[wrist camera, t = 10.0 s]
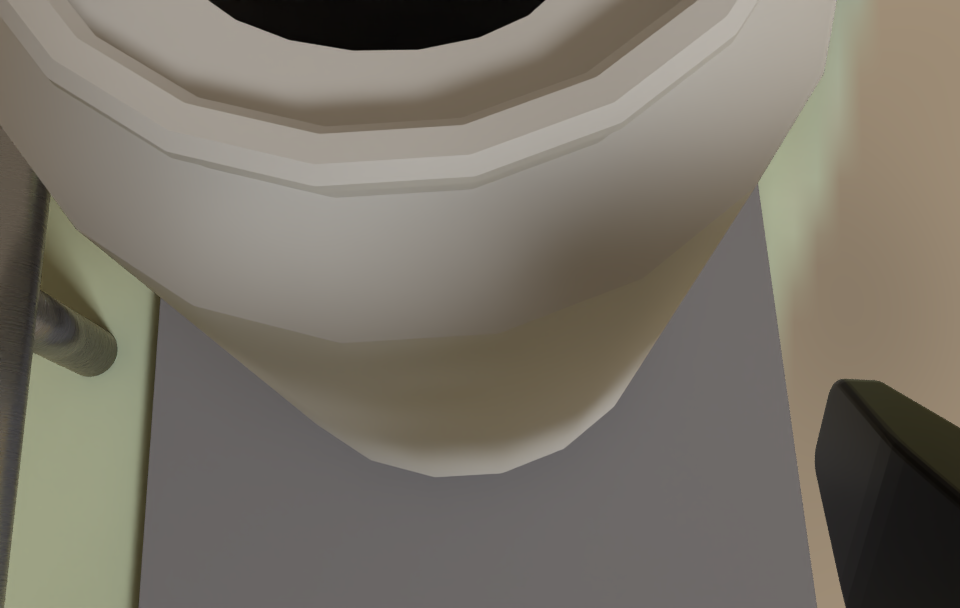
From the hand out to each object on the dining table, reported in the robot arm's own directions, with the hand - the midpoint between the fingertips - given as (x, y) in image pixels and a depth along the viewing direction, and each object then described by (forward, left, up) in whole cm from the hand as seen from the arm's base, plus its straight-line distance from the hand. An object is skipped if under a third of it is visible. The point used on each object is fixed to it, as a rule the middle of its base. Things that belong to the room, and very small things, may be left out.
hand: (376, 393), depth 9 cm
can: (+4, -1, -8) cm, 9 cm away
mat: (+4, -1, -8) cm, 9 cm away
